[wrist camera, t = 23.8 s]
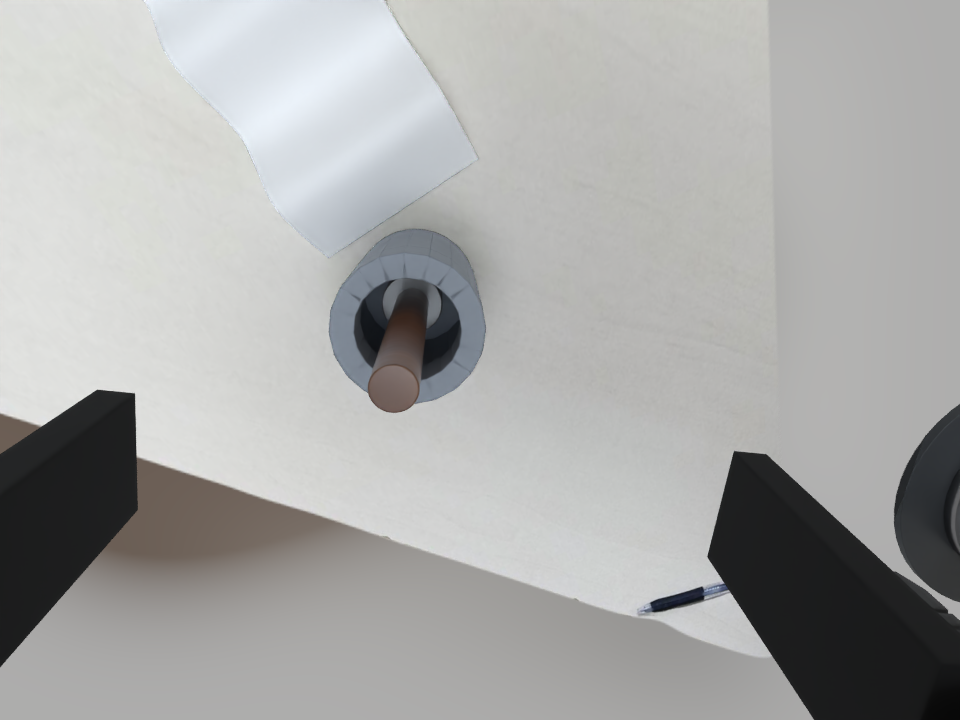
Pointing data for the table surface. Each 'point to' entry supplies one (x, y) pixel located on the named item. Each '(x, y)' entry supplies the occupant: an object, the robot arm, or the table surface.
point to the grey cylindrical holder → (446, 342)
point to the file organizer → (320, 105)
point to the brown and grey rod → (403, 343)
